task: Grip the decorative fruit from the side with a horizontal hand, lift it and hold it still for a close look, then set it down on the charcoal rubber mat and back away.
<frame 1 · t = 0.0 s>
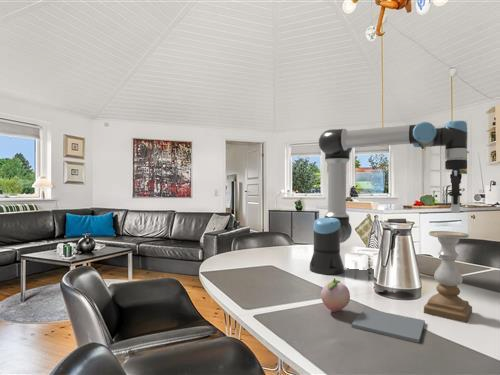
hand: (455, 212, 131), 28 cm above the table, tool pointing down, fingers open, 13 cm apart
candle holder: (447, 313, 97), on the table
mat: (388, 325, 88), on the table
decorative fruit: (335, 312, 97), on the table
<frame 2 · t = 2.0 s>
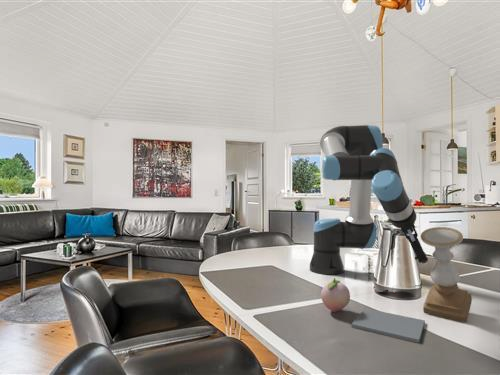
hand: (418, 247, 109), 17 cm above the table, tool tilted 55°, fingers open, 13 cm apart
candle holder: (447, 306, 97), point 2 cm above the table
everything else where it was.
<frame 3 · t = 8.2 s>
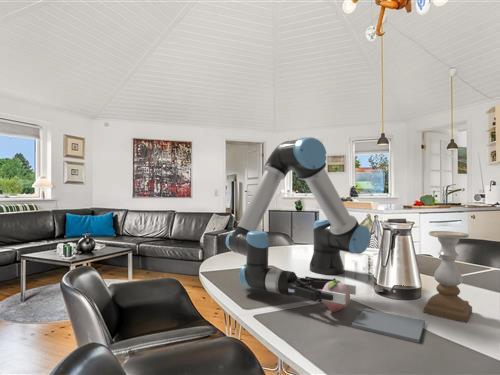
hand: (350, 294, 94), 6 cm above the table, tool horizontal, fingers closed on decorative fruit, 9 cm apart
candle holder: (447, 313, 97), on the table
decorative fruit: (335, 312, 97), on the table, touching gripper
everything else where it was.
when the fingers open (8 cm above the table, at t = 14.1 s): decorative fruit drops 1 cm, resting on mat.
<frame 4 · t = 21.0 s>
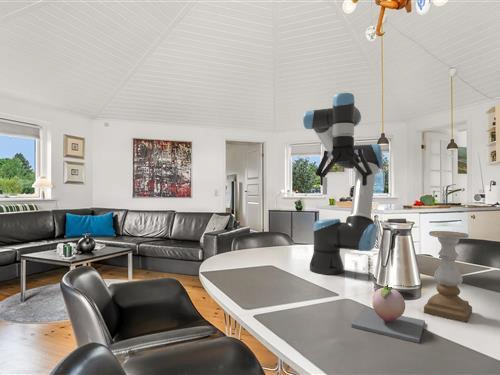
hand: (342, 194, 118), 35 cm above the table, tool pointing down, fingers open, 13 cm apart
decorative fruit: (388, 322, 88), point 1 cm above the table, touching mat
everything else where it was.
at the end: decorative fruit inside the target area on the mat (0.1 cm from its centre), point 0.6 cm above the mat's base; the gripper is holding nothing; decorative fruit moved 14.9 cm from its start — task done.
